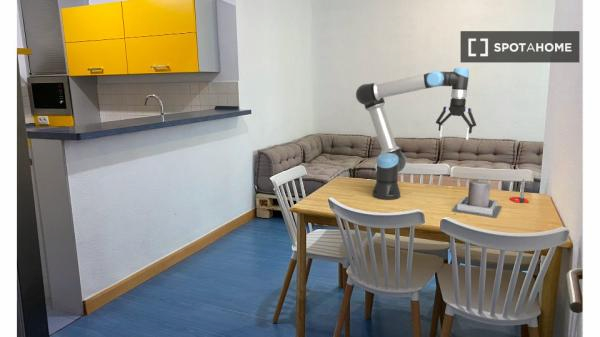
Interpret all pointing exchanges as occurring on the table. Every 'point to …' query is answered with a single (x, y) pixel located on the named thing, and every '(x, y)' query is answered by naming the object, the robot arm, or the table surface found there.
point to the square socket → (478, 208)
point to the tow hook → (521, 198)
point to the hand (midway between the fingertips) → (453, 138)
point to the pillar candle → (479, 193)
